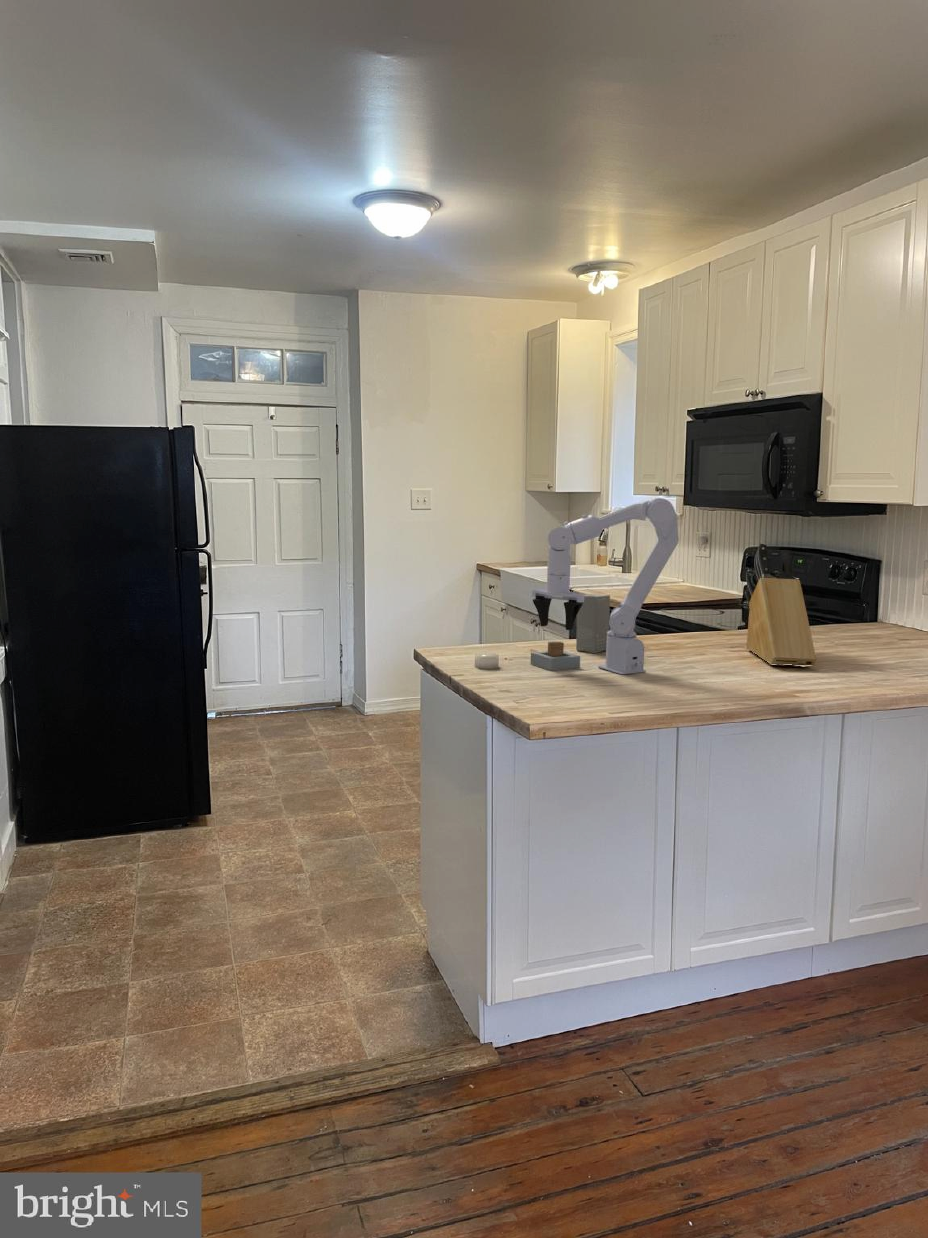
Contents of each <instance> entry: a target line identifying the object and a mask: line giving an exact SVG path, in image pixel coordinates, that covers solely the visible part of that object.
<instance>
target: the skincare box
mask: <svg viewBox="0 0 928 1238" xmlns="http://www.w3.org/2000/svg"><path fill="white" fill-rule="evenodd" d="M583 594H584V602H583V605H582V607H581V608H580V610H579V612H578V614H577V616H576V645H575V646H576V647H575V648H576V649H575V650H576V651H578V652H587V653H593V654H598V653H602V652H606V646H607V632H608V631H610V626H609V621H610V614H611V612H610V604H611V603H610V601H611V595H610V594H598V593H597V594H595V593H590V594H589V593H588V594H587V593H583Z"/></svg>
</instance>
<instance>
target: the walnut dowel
mask: <svg viewBox="0 0 928 1238" xmlns="http://www.w3.org/2000/svg"><path fill="white" fill-rule="evenodd" d="M564 645H565V644H564V642H562V641H549V642H547V651H548V656H551V657H560V656H563V651H564V647H565V646H564Z"/></svg>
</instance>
